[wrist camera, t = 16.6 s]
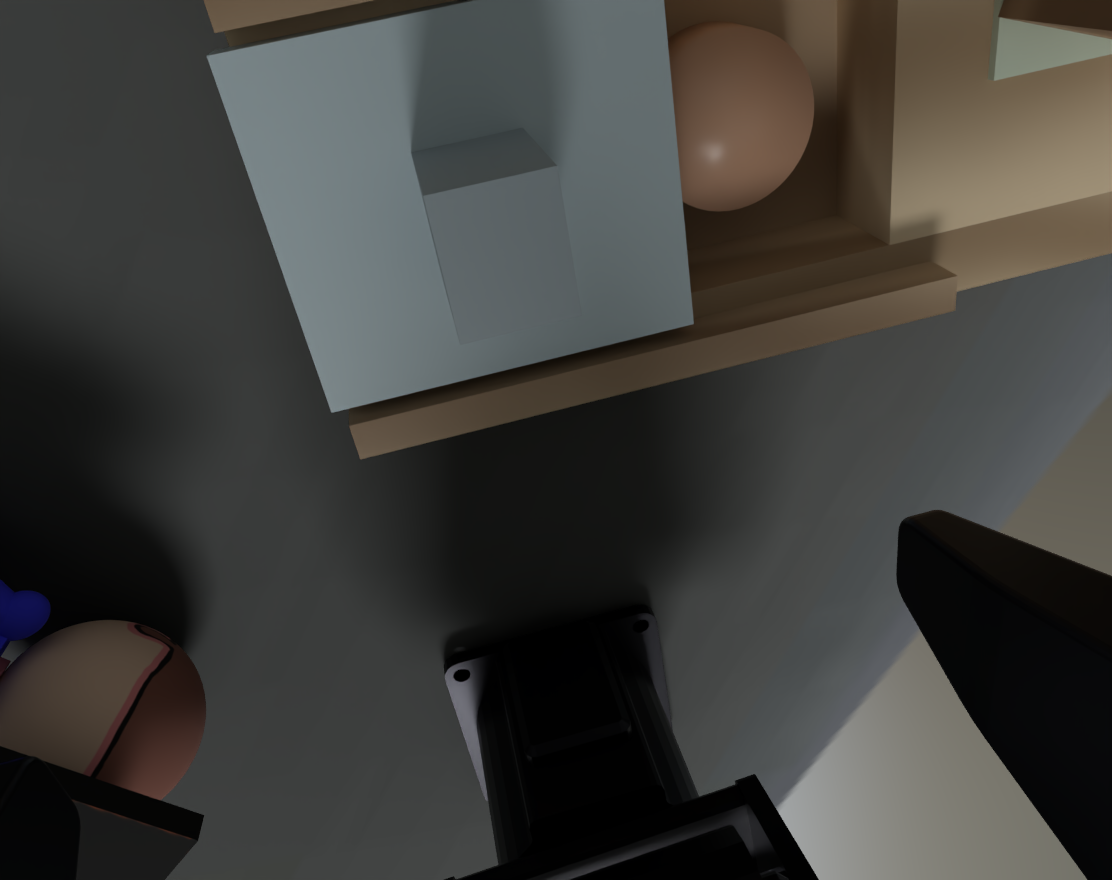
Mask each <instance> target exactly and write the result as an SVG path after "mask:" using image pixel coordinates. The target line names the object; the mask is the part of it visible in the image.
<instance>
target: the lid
mask: <svg viewBox="0 0 1112 880" xmlns="http://www.w3.org/2000/svg"><path fill="white" fill-rule="evenodd" d="M207 58H208V61H209V64H210V67H211V70H212V73H213V75H214V78H215V81H216V84H217V87H218V90H219V93H220V95H221V98H222V101H223V104H224V107H225V110H226V113H227V115H228V118H229V121H230V124H231V127H232V130H233V133H234V135H235V138H236V141H237V144H238V147H239V150H240V153H241V155H242V158H243V161H244V164H245V167H246V170H247V173H248V175H249V178H250V181H251V184H252V187H253V190H254V193H255V195H256V198H257V201H258V204H259V207H260V210H261V213H262V215H263V218H264V221H265V224H266V227H267V230H268V233H269V235H270V238H271V241H272V244H273V247H274V250H275V252H276V255H277V258H278V261H279V264H280V267H281V270H282V272H283V275H284V278H285V281H286V284H287V287H288V290H289V292H290V295H291V298H292V301H293V304H294V307H295V310H296V312H297V315H298V318H299V321H300V324H301V327H302V330H303V332H304V335H305V338H306V341H307V344H308V347H309V350H310V352H311V355H312V358H313V361H314V364H315V367H316V370H317V372H318V375H319V378H320V381H321V384H322V387H323V390H324V392H325V395H326V398H327V401H328V404H329V407H330V410H331V412H332V413H333V412H337V411H341V410H345V409H349V408H353V407H358V406H362V405H366V404H370V403H374V402H378V401H382V400H386V399H390V398H394V397H398V396H402V395H406V394H411V393H415V392H419V391H423V390H427V389H431V388H435V387H439V386H443V385H447V384H451V383H455V382H460V381H464V380H468V379H472V378H476V377H480V376H484V375H488V374H492V373H496V372H500V371H504V370H508V369H513V368H517V367H521V366H525V365H529V364H533V363H537V362H541V361H545V360H549V359H553V358H557V357H561V356H566V355H570V354H574V353H578V352H582V351H586V350H590V349H594V348H598V347H602V346H606V345H610V344H614V343H619V342H623V341H627V340H631V339H635V338H639V337H643V336H647V335H651V334H655V333H659V332H663V331H668V330H672V329H676V328H680V327H684V326H688V325H692V324H694V320H693V309H692V298H691V288H690V277H689V266H688V255H687V244H686V233H685V223H684V212H683V201H682V190H681V179H680V169H679V158H678V147H677V136H676V125H675V114H674V104H673V93H672V82H671V71H670V60H669V50H668V39H667V28H666V17H665V6H664V0H455V1H450V2H445V3H441V4H436V5H431V6H426V7H421V8H416V9H411V10H407V11H402V12H397V13H392V14H387V15H382V16H378V17H373V18H368V19H363V20H358V21H353V22H348V23H344V24H339V25H334V26H329V27H324V28H319V29H315V30H310V31H305V32H300V33H295V34H290V35H286V36H281V37H276V38H271V39H266V40H261V41H256V42H252V43H247V44H242V45H237V46H232V47H227V48H223V49H218V50H213V51H212V52H211V53H210V54H208V55H207Z"/></svg>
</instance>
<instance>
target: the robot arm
mask: <svg viewBox="0 0 1112 880" xmlns="http://www.w3.org/2000/svg"><path fill="white" fill-rule="evenodd" d="M896 576H897V585H898V588H899V592H900V594H901V597H902V599H903V601H904V602H905V604H906V606H907V608H908V609H909V611H910V613H911V615H912V616H913V618H914V620H915V622H916V623H917V625H918V627H919V629H920V630H921V632H922V634H923V636H924V637H925V639H926V641H927V642H928V644H929V646H930V648H931V650H932V651H933V653H934V655H935V657H936V658H937V660H938V662H939V664H940V665H941V667H942V669H943V670H944V672H945V674H946V676H947V678H948V679H949V681H950V683H951V685H952V686H953V688H954V690H955V692H956V693H957V695H958V697H959V699H960V700H961V702H962V704H963V705H964V707H965V708H966V710H967V712H968V713H969V715H970V717H971V718H972V720H973V721H974V723H975V724H976V726H977V727H978V729H979V730H980V731H981V733H982V734H983V736H984V737H985V739H986V740H987V742H988V743H989V744H990V746H991V747H992V749H993V750H994V751H995V753H996V754H997V755H998V757H999V758H1000V760H1001V761H1002V762H1003V764H1004V765H1005V766H1006V768H1007V769H1008V770H1009V772H1010V773H1011V775H1012V776H1013V778H1014V779H1015V780H1016V782H1017V783H1018V784H1019V786H1020V787H1021V788H1022V790H1023V791H1024V793H1025V794H1026V795H1027V797H1028V798H1029V800H1030V801H1031V802H1032V804H1033V805H1034V807H1035V808H1036V809H1037V811H1038V812H1039V813H1040V815H1041V816H1042V818H1043V819H1044V820H1045V822H1046V823H1047V824H1048V825H1049V827H1050V829H1051V830H1052V831H1053V833H1054V834H1055V835H1056V837H1057V838H1058V839H1059V841H1060V842H1061V844H1062V845H1063V846H1064V848H1065V849H1066V851H1067V852H1068V853H1069V855H1070V856H1071V858H1072V859H1073V860H1074V862H1075V863H1076V864H1077V866H1078V867H1079V869H1080V870H1081V871H1082V873H1083V874H1084V875H1085V877H1086V878H1087V880H1112V576H1111V575H1108V574H1106V573H1103V572H1100V571H1098V570H1095V569H1093V568H1090V567H1087V566H1085V565H1082V564H1080V563H1077V562H1075V561H1072V560H1069V559H1067V558H1064V557H1062V556H1059V555H1057V554H1054V553H1051V552H1049V551H1046V550H1044V549H1041V548H1038V547H1036V546H1033V545H1031V544H1028V543H1026V542H1023V541H1021V540H1018V539H1015V538H1013V537H1010V536H1008V535H1005V534H1003V533H1000V532H998V531H995V530H992V529H990V528H987V527H985V526H982V525H980V524H977V523H974V522H972V521H969V520H967V519H964V518H962V517H959V516H956V515H954V514H951V513H949V512H946V511H942V510H932V511H929V512H925V513H921V514H918V515H914V516H910V517H907V518H905V519H904V520H903V521H902V522H901V524H900V526H899V532H898V552H897V573H896ZM639 620H643V621H642V622H641V623H638V624H635V622H637V621H639ZM460 669H466V670H465V671H463V672H456V671H457V670H460ZM444 673H445V680H446V683H447V686H448V689H449V692H450V695H451V698H452V701H453V704H454V707H455V710H456V713H457V716H458V719H459V723H460V726H461V729H462V732H463V735H464V738H465V741H466V744H467V747H468V750H469V753H470V756H471V759H472V762H473V765H474V768H475V771H476V774H477V777H478V780H479V783H480V786H481V789H482V792H483V795H484V797H485V799H486V800H487V801H488V802H489V809H490V815H491V821H492V827H493V834H494V840H495V846H496V852H497V858H498V865H497V866H494V867H491V868H488V869H486V870H483V871H480V872H477V873H474V874H471V875H468V876H465V877H462V878H459V879H455V877H454V876H453V877H450V878H448V879H445V880H819V879H818V878H817V876H816V874H815V873H814V871H813V869H812V868H811V866H810V864H809V863H808V861H807V859H806V858H805V856H804V854H803V853H802V851H801V849H800V848H799V846H798V844H797V843H796V841H795V840H794V838H793V836H792V835H791V833H790V831H789V830H788V828H787V826H786V825H785V823H784V822H783V820H782V818H781V816H780V815H779V813H778V811H777V810H776V808H775V806H774V805H773V803H772V801H771V800H770V798H769V796H768V795H767V793H766V791H765V790H764V788H763V787H762V785H761V783H760V782H759V780H758V778H757V777H756V775H755V774H753V775H750V776H747V777H745V778H742V779H739V780H736V781H735V785H732V786H729V787H726V788H724V789H721V790H718V791H715V792H712V793H709V794H706V795H703V796H700V797H699V795H698V793H697V790H696V788H695V785H694V783H693V780H692V778H691V775H690V773H689V771H688V768H687V766H686V763H685V761H684V758H683V756H682V753H681V751H680V748H679V746H678V743H677V741H676V739H675V736H674V734H673V730H672V723H671V716H670V709H669V702H668V695H667V688H666V681H665V674H664V668H663V661H662V654H661V647H660V640H659V633H658V626H657V621H656V619H655V616H654V614H653V612H652V610H651V608H649V607H648V606H646V605H634V606H631V607H627V608H623V609H620V610H616V611H612V612H609V613H605V614H601V615H598V616H594V617H590V618H587V619H583V620H579V621H576V622H572V623H568V624H565V625H561V626H557V627H554V628H550V629H546V630H543V631H539V632H535V633H532V634H528V635H524V636H521V637H517V638H513V639H510V640H506V641H502V642H499V643H495V644H491V645H488V646H484V647H480V648H477V649H473V650H469V651H466V652H462V653H458V654H455V655H453V656H451V657H450V658H449V659H447V660H446V662H445V664H444ZM80 831H81V825H80V817H79V813H78V810H77V807H76V805H75V804H74V802H73V801H72V799H71V798H70V796H69V795H68V794H67V792H66V791H65V790H64V788H63V787H62V786H61V784H60V783H59V781H58V780H57V779H56V777H55V776H54V775H53V773H52V772H51V770H50V769H49V768H48V766H47V765H46V764H45V763H44V761H43V760H41V759H39V758H38V757H35V756H26V757H23V758H19V759H15V760H12V761H8V762H4V763H1V764H0V880H76V876H77V865H78V854H79V843H80Z"/></svg>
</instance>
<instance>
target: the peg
mask: <svg viewBox="0 0 1112 880" xmlns="http://www.w3.org/2000/svg"><path fill="white" fill-rule="evenodd" d="M998 17H1000V18H1006V19H1011V20H1016V21H1021V22H1026V23H1031V24H1036V25H1041V26H1046V27H1051V28H1057V29H1062V30H1067V31H1072V32H1077V33H1082V34H1087V35H1092V36H1097V37H1102V38H1108V39H1112V0H1004V1H1003V4H1002V7H1001V9H1000V12H999V15H998Z"/></svg>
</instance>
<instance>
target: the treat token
mask: <svg viewBox="0 0 1112 880" xmlns="http://www.w3.org/2000/svg"><path fill="white" fill-rule="evenodd" d="M668 50H669V60H670V71H671V82H672V93H673V104H674V114H675V125H676V136H677V147H678V158H679V169H680V179H681V190H682V201H683V202H685V203H686V204H688V205H690V206H693V207H696V208H698V209H703V210H707V211H717V212H719V211H731V210H736V209H740V208H743V207H746V206H749V205H751V204H753V203H756V202H758V201H760V200H761V199H763V198H764V197H766V196H768V195H769V194H770V193H771V192H773V191H774V190H775V189H777V188H778V187H779V186H780V185H781V184H782V183H783V182H784V181H785V180H786V179H787V177H788V176H789V175H790V174H791V172H792V171H793V170H794V168H795V167H796V165H797V164H798V162H799V160H800V159H801V157H802V155H803V153H804V151H805V148H806V146H807V143H808V140H809V137H810V133H811V130H812V125H813V118H814V95H813V89H812V84H811V80H810V77H809V74H808V72H807V69H806V67H805V65H804V63H803V62H802V60H801V58H800V57H799V56H798V54H797V53H796V52H795V50H794V49H793V48H792V47H791V46H790V45H788V44H787V43H786V42H785V41H783V40H782V39H781V38H779V37H778V36H776V35H774V34H772V33H770V32H767V31H764V30H761V29H757V28H753V27H749V26H744V25H740V24H736V23H731V22H724V21H709V22H703V23H698V24H695V25H692V26H689V27H687V28H685V29H683V30H681V31H678V32H677V33H675V34H674V35H672V36H671V37H669V38H668Z"/></svg>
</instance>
